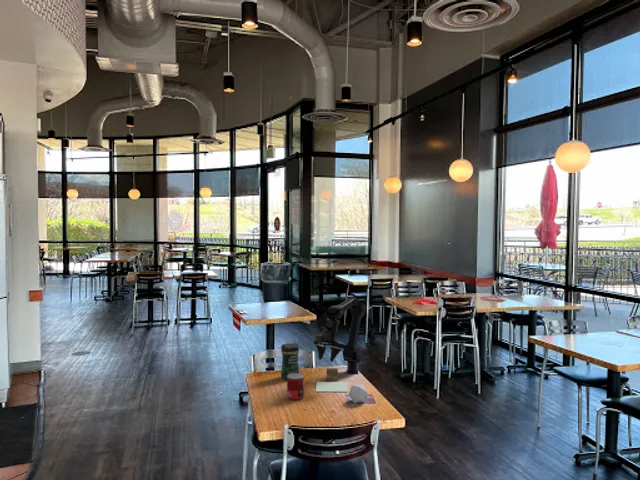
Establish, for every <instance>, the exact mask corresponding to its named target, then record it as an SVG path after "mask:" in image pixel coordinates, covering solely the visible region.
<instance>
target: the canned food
mask: <svg viewBox="0 0 640 480" xmlns="http://www.w3.org/2000/svg"><path fill="white" fill-rule="evenodd" d="M304 376H305V375H304V374H303V373H300V372H299V373H291V374H288V375H287V379H286V380H287V381H286V383H287V384H286V385H287V386H286V387H287V390H286V391H287V392H286V393H287V396H286V397H287V399H288V400H290V401H294V402H295V401H296V402H297V401H301V400H303V399H304V396H305V394H304V393H305V387H304V386H305V381H304V380H305V379H304V378H305V377H304Z"/></svg>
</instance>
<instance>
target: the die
mask: <svg viewBox="0 0 640 480" xmlns="http://www.w3.org/2000/svg"><path fill="white" fill-rule="evenodd" d="M368 394H369V392H368V390H367V388H366V387H365V384H362V383H361V384H358V383H357V384H352V385H351V387H350V389H349V392H348V397H350V399H351V400H352V402H353V404H360V403H365V402H366V399H367V397H368Z"/></svg>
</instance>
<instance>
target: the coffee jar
mask: <svg viewBox="0 0 640 480" xmlns="http://www.w3.org/2000/svg"><path fill="white" fill-rule="evenodd" d="M280 353H281V355H282V357H281V358H282V360H281V361H282V362H281V371H280V373H281V374H280V376H281V378H282V379H284V380H287V375H288V374H291V373H300V369H299V367H300V366H299V353H300V348H299V344H298V343H296V342H293V343H292V342H291V343H284V344H282V345H281V350H280Z"/></svg>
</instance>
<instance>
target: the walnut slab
mask: <svg viewBox="0 0 640 480" xmlns="http://www.w3.org/2000/svg"><path fill="white" fill-rule="evenodd" d="M326 382H339V368H337V367H336V368H333V367H331V368H327V367H326Z"/></svg>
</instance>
